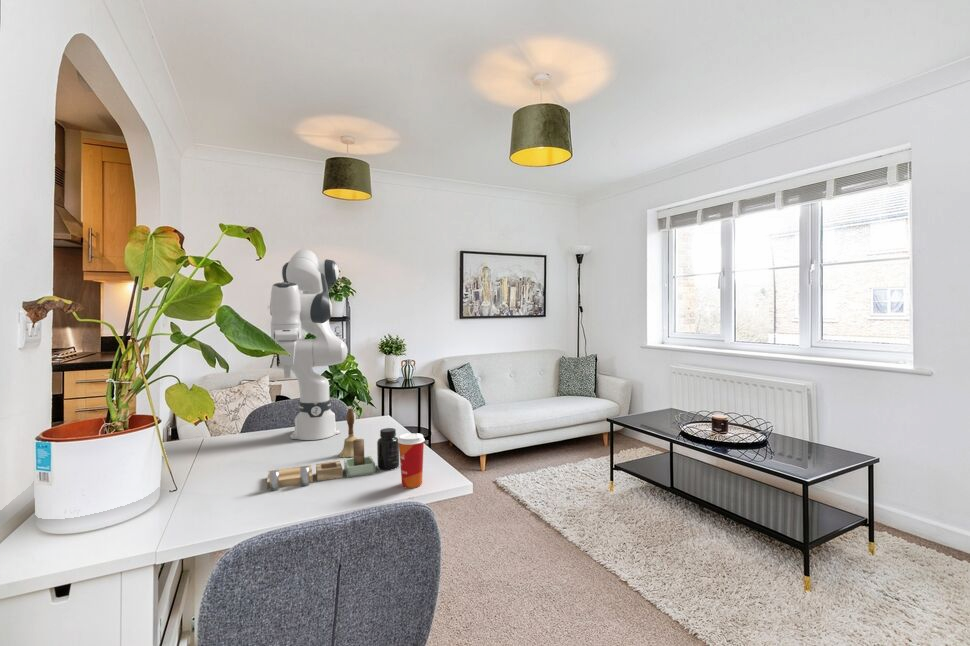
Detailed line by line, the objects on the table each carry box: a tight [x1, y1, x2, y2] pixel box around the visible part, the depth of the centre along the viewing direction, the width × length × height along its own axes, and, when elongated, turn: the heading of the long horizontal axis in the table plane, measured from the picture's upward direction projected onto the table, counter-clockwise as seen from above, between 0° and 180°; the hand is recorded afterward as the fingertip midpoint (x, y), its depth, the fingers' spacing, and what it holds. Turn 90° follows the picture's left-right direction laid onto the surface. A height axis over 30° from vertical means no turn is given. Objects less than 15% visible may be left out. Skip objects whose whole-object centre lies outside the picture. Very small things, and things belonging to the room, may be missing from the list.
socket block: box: [315, 460, 343, 482], centre depth 140 cm, size 7×7×3 cm
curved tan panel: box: [266, 464, 314, 490], centre depth 137 cm, size 10×12×2 cm
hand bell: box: [338, 407, 358, 459], centre depth 161 cm, size 8×8×16 cm
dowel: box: [353, 438, 365, 466], centre depth 144 cm, size 3×3×9 cm
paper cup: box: [398, 432, 426, 489], centre depth 132 cm, size 8×8×14 cm
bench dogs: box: [269, 465, 311, 492], centre depth 131 cm, size 2×10×5 cm, turn 113°
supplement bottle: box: [376, 427, 400, 471], centre depth 147 cm, size 7×7×12 cm
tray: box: [343, 455, 376, 478], centre depth 144 cm, size 8×8×3 cm
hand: (287, 377), depth 146 cm, fingers closed
